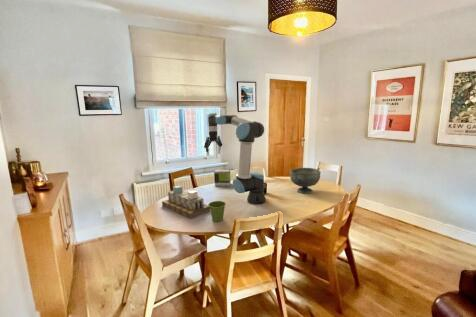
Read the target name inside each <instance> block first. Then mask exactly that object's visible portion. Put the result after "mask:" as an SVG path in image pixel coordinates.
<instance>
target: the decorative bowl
mask: <svg viewBox="0 0 476 317" xmlns="http://www.w3.org/2000/svg"><path fill="white" fill-rule="evenodd" d="M289 176H290V177H289V178H290V182H292V183H293V184H294V185H297V186H298V189H297V190H296V191H297V193H301V194H303V195H305V194H307V195H309V194H311V193H313V190H312V189H311V188H310V187H313V186H315V185H317V184H318V183H319V181H320V179H321V171H320V170H319V169H316V168H312V167H298V168H297V167H296V168H293V169H290V170H289Z"/></svg>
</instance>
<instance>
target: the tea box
mask: <svg viewBox="0 0 476 317" xmlns="http://www.w3.org/2000/svg"><path fill="white" fill-rule="evenodd" d="M213 173H214V174H213V176H214V177H213V178H214V187H230V185H231V169H215V170H214V172H213Z"/></svg>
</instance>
